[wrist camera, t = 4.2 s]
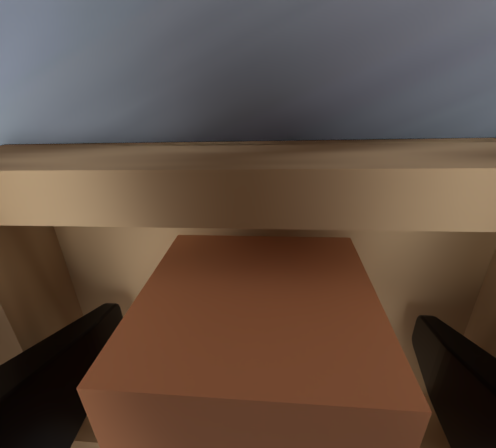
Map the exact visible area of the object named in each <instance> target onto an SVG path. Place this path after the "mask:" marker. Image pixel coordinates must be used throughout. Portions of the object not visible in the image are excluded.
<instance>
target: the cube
mask: <svg viewBox="0 0 496 448" xmlns="http://www.w3.org/2000/svg"><path fill="white" fill-rule="evenodd" d="M76 389H77V392H78V394H79V397H80V399H81V402H82V404H83V407H84V409H85V412H86V414H87V417H88V419H89V422H90V424H91V427H92V429H93V432H94V434H95V437H96V439H97V442H98V444H99V447H100V448H420V445H421V442H422V439H423V437H424V434H425V431H426V428H427V425H428V423H429V420H430V417H431V414H432V411H431V409H430V407H429V405H428V403H427V401H426V398H425V396H424V394H423V392H422V390H421V388H420V386H419V383H418V381H417V379H416V377H415V375H414V373H413V371H412V368H411V366H410V364H409V362H408V360H407V358H406V356H405V354H404V351H403V349H402V347H401V345H400V343H399V341H398V339H397V336H396V334H395V332H394V330H393V328H392V326H391V324H390V322H389V319H388V317H387V315H386V313H385V311H384V309H383V307H382V304H381V302H380V300H379V298H378V296H377V294H376V292H375V289H374V287H373V285H372V283H371V281H370V279H369V277H368V275H367V272H366V270H365V268H364V266H363V264H362V262H361V260H360V257H359V255H358V253H357V251H356V249H355V247H354V245H353V242H352V240H351V238H346V237H283V236H220V235H177V237H176V239H175V240H174V242H173V243H172V245H171V246H170V248H169V249H168V251H167V252H166V254H165V255H164V257H163V258H162V260H161V261H160V263H159V264H158V266H157V267H156V269H155V270H154V272H153V273H152V275H151V276H150V278H149V279H148V281H147V282H146V284H145V285H144V287H143V288H142V290H141V291H140V293H139V294H138V296H137V297H136V299H135V300H134V302H133V303H132V305H131V306H130V308H129V309H128V311H127V312H126V314H125V315H124V317H123V319H122V320H121V322H120V323H119V325H118V326H117V328H116V329H115V331H114V332H113V334H112V335H111V337H110V338H109V340H108V341H107V343H106V344H105V346H104V347H103V349H102V350H101V352H100V353H99V355H98V356H97V358H96V359H95V361H94V362H93V364H92V365H91V367H90V368H89V370H88V371H87V373H86V374H85V376H84V377H83V379H82V380H81V382H80V383H79V385H78V386H77V388H76Z"/></svg>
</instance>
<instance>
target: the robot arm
mask: <svg viewBox="0 0 496 448" xmlns="http://www.w3.org/2000/svg"><path fill="white" fill-rule="evenodd" d="M122 319H123V315H122V312H121V308H120V306H119V304H117V303H104V304H103V305H101V306H99V307H97V308H96V309H94V310H92V311H91V312H89V313H87V314H86V315H84V316H82V317H81V318H79V319H77V320H76V321H74V322H72V323H71V324H69V325H67V326H65V327H64V328H62V329H60V330H59V331H57V332H55V333H54V334H52V335H50V336H49V337H47V338H45V339H44V340H42V341H40V342H38V343H37V344H35V345H33V346H32V347H30V348H28V349H27V350H25V351H23V352H22V353H20V354H18V355H17V356H15V357H13V358H11V359H10V360H8V361H6V362H5V363H3V364H1V365H0V448H71V446H72V444H73V442H74V440H75V438H76V436H77V434H78V432H79V430H80V428H81V426H82V424H83V422H84V420H85V418H86V416H87V414H86V412H85V409H84V407H83V404H82V402H81V399H80V397H79V394H78V392H77V389H76V388H77V386H78V385H79V383H80V382H81V380H82V379H83V377H84V376H85V374H86V373H87V371H88V370H89V368H90V367H91V365H92V364H93V362H94V361H95V359H96V358H97V356H98V355H99V353H100V352H101V350H102V349H103V347H104V346H105V344H106V343H107V341H108V340H109V338H110V337H111V335H112V334H113V332H114V331H115V329H116V328H117V326H118V325H119V323H120V322H121V320H122ZM412 345H413V348H414V351H415V355H416V358H417V361H418V364H419V367H420V371H421V374H422V377H423V380H424V383H425V387H426V390H427V393H428V395H429V398H430V401H431V403H432V406H433V408H434V410H435V413H436V415H437V417H438V420H439V422H440V424H441V427H442V429H443V431H444V433H445V436H446V438H447V440H448V443H449V445H450V447H451V448H496V358H495V357H494V356H492V355H491V354H490V353H488V352H487V351H485V350H484V349H482V348H481V347H479V346H478V345H476V344H475V343H473V342H472V341H471V340H469V339H468V338H466V337H465V336H463V335H462V334H460V333H459V332H457V331H456V330H455V329H453V328H452V327H450V326H449V325H447V324H446V323H444V322H443V321H441V320H440V319H438V318H437V317H435V316H432V315H419V316H418V317H417V319H416V322H415V326H414V330H413V333H412Z"/></svg>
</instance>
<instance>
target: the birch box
mask: <svg viewBox="0 0 496 448" xmlns="http://www.w3.org/2000/svg"><path fill="white" fill-rule="evenodd" d="M177 235H220V236H283V237H346V238H351V240H352V242H353V245H354V247H355V249H356V251H357V253H358V255H359V257H360V260H361V262H362V264H363V266H364V268H365V270H366V272H367V275H368V277H369V279H370V281H371V283H372V285H373V287H374V289H375V292H376V294H377V296H378V298H379V300H380V302H381V304H382V307H383V309H384V311H385V313H386V315H387V317H388V319H389V322H390V324H391V326H392V328H393V330H394V332H395V334H396V336H397V339H398V341H399V343H400V345H401V347H402V349H403V351H404V354H405V356H406V358H407V360H408V362H409V364H410V366H411V368H412V371H413V373H414V375H415V377H416V379H417V381H418V383H419V386H420V388H421V390H422V392H423V394H424V396H425V398H426V401H427V403H428V405H429V407H430V409H431V411H432V414H431V417H430V420H429V423H428V425H427V428H426V431H425V434H424V437H423V439H422V442H421V445H420V448H451V447H450V445H449V443H448V440H447V438H446V436H445V433H444V431H443V429H442V427H441V424H440V422H439V420H438V417H437V415H436V413H435V410H434V408H433V406H432V403H431V401H430V398H429V395H428V393H427V390H426V387H425V383H424V380H423V377H422V374H421V371H420V367H419V364H418V361H417V358H416V355H415V351H414V348H413V345H412V333H413V330H414V326H415V322H416V319H417V317H418V316H419V315H432V316H435V317H437V318H438V319H440V320H441V321H443V322H444V323H446V324H447V325H449V326H450V327H452V328H453V329H455V330H456V331H457V332H459V333H460V334H462V335H463V336H465V337H466V338H468V339H469V340H471V341H472V342H473V343H475V344H476V345H478V346H479V347H481V348H482V349H484V350H485V351H487V352H488V353H490V354H491V355H492V356H494V357H495V358H496V138H441V139H370V140H298V141H227V142H155V143H83V144H12V145H1V146H0V365H1V364H3V363H5V362H6V361H8V360H10V359H11V358H13V357H15V356H17V355H18V354H20V353H22V352H23V351H25V350H27V349H28V348H30V347H32V346H33V345H35V344H37V343H38V342H40V341H42V340H44V339H45V338H47V337H49V336H50V335H52V334H54V333H55V332H57V331H59V330H60V329H62V328H64V327H65V326H67V325H69V324H71V323H72V322H74V321H76V320H77V319H79V318H81V317H82V316H84V315H86V314H87V313H89V312H91V311H92V310H94V309H96V308H97V307H99V306H101V305H103V304H104V303H117V304H119V306H120V308H121V312H122V315H123V317H124V315H125V314H126V312H127V311H128V309H129V308H130V306H131V305H132V303H133V302H134V300H135V299H136V297H137V296H138V294H139V293H140V291H141V290H142V288H143V287H144V285H145V284H146V282H147V281H148V279H149V278H150V276H151V275H152V273H153V272H154V270H155V269H156V267H157V266H158V264H159V263H160V261H161V260H162V258H163V257H164V255H165V254H166V252H167V251H168V249H169V248H170V246H171V245H172V243H173V242H174V240H175V239H176V237H177ZM71 448H100V447H99V444H98V442H97V439H96V437H95V434H94V432H93V429H92V427H91V424H90V422H89V419H88V417H87V416H86V418H85V420H84V422H83V424H82V426H81V428H80V430H79V432H78V434H77V436H76V438H75V440H74V442H73V444H72V446H71Z"/></svg>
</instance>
